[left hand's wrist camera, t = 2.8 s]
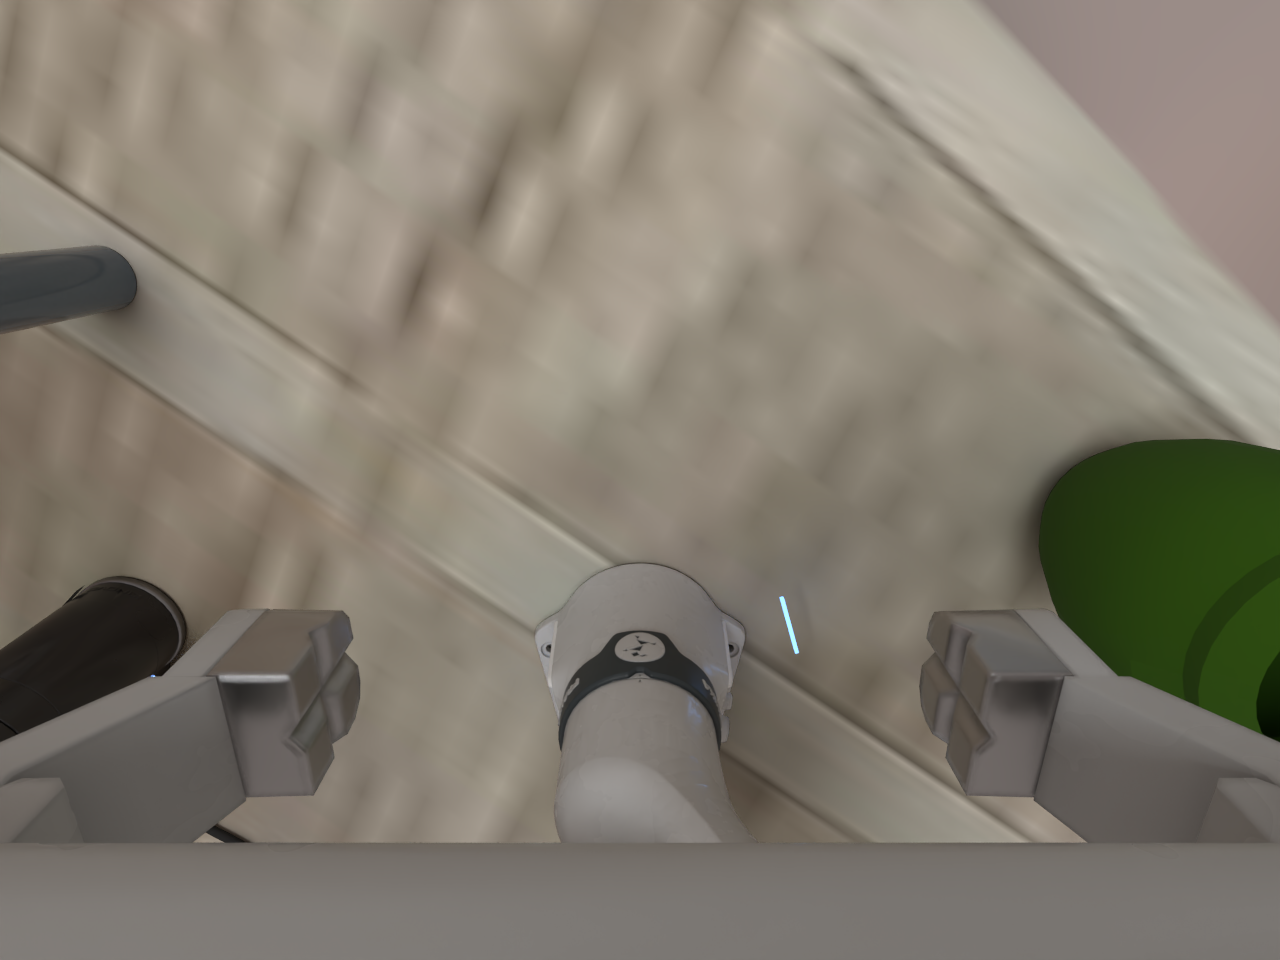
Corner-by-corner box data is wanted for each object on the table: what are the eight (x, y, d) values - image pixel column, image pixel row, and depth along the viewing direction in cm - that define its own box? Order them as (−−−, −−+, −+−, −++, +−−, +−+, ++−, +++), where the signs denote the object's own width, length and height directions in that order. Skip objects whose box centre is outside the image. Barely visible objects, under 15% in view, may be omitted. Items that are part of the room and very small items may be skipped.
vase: (1267, 469, 60) (1647, 634, 38) (1096, 640, 66) (1334, 872, 43) (1095, 343, 57) (1402, 441, 34) (930, 536, 62) (1096, 729, 40)
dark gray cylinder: (103, 320, 56) (-129, 373, 39) (59, 264, 55) (-202, 295, 38) (150, 291, 55) (-66, 332, 38) (106, 233, 54) (-138, 250, 37)
